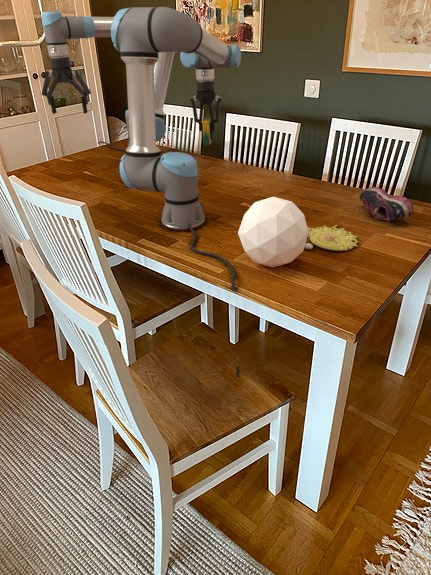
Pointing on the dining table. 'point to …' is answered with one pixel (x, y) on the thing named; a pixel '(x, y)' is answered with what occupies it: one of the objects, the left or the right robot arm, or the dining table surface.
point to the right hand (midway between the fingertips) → (207, 138)
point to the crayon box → (206, 131)
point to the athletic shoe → (385, 204)
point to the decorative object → (331, 238)
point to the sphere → (273, 232)
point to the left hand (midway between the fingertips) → (70, 113)
